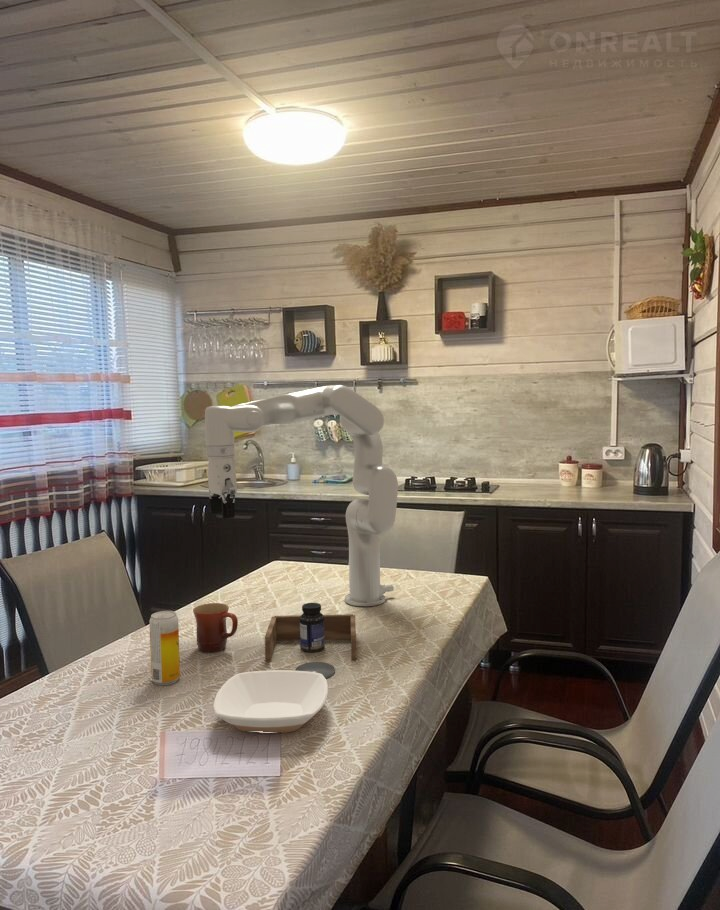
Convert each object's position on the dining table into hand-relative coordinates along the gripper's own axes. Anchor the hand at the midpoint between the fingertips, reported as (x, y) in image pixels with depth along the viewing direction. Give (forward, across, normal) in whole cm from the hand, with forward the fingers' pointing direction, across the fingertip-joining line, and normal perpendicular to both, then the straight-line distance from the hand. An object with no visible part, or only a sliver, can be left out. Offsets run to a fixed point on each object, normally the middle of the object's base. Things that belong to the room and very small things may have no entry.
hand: (222, 515), depth 179 cm
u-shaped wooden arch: (+31, -27, -13) cm, 43 cm away
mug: (+31, -14, +7) cm, 35 cm away
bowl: (+32, -55, +10) cm, 64 cm away
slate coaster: (+31, -40, -7) cm, 51 cm away
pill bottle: (+31, -27, -13) cm, 43 cm away
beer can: (+31, -26, +23) cm, 47 cm away
